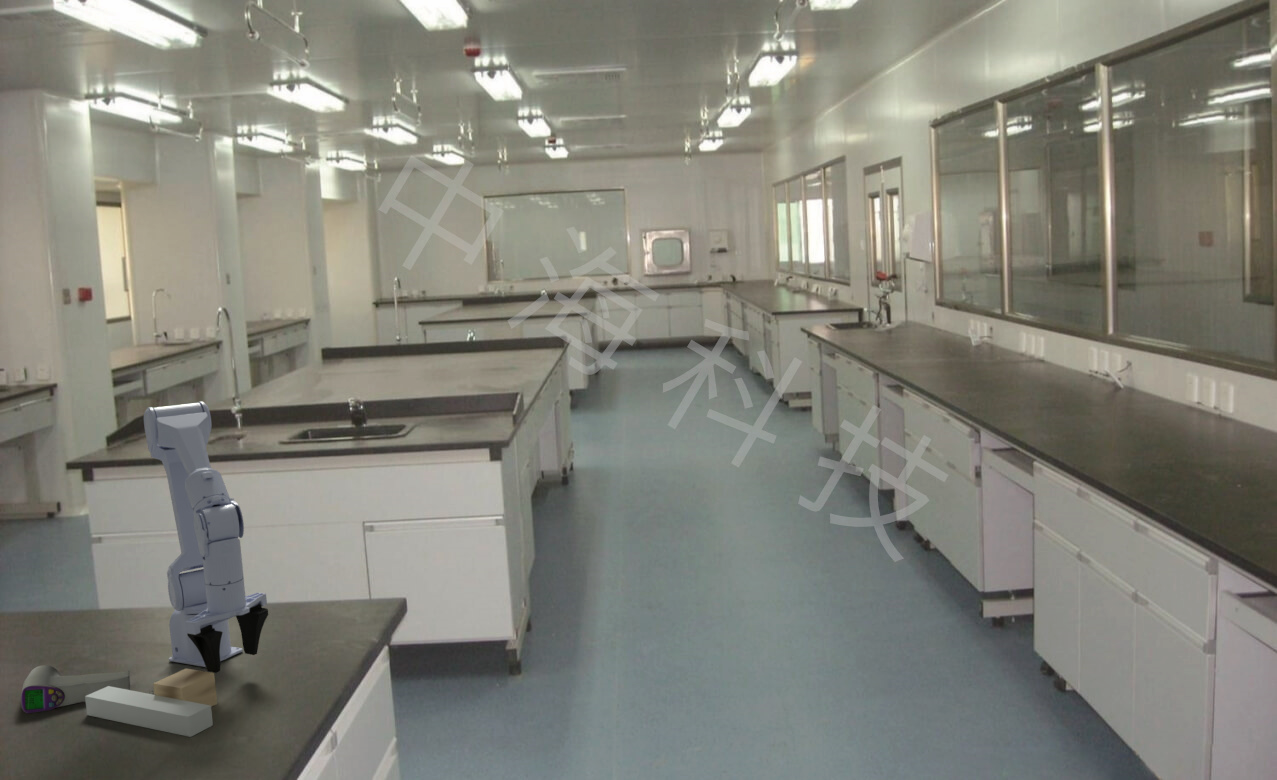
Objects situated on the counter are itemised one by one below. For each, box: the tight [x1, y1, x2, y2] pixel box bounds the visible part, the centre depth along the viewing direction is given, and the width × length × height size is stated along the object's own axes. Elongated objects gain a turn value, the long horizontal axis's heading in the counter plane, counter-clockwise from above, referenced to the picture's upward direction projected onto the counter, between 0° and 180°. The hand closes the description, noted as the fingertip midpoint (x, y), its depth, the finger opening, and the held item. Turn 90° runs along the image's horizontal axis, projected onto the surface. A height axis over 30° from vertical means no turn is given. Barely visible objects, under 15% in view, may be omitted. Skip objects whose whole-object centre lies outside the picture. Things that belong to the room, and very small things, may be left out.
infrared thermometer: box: [20, 664, 131, 714], centre depth 167 cm, size 5×12×15 cm
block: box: [153, 667, 218, 708], centre depth 158 cm, size 6×6×5 cm
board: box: [85, 686, 214, 738], centre depth 155 cm, size 22×4×3 cm, turn 64°
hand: (232, 662), depth 167 cm, fingers open, 7 cm apart
